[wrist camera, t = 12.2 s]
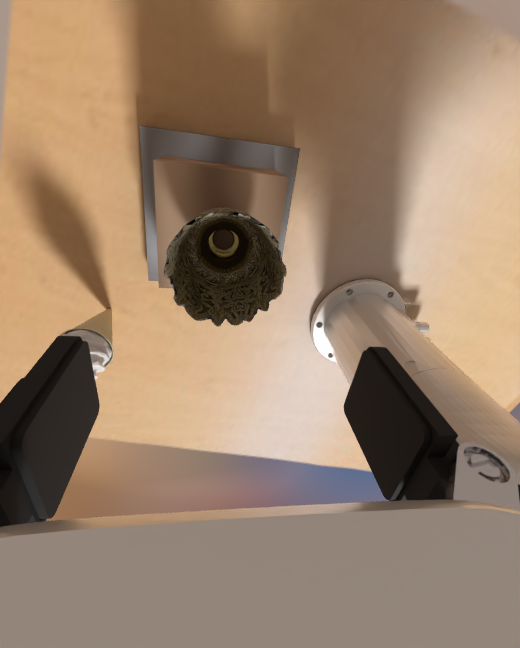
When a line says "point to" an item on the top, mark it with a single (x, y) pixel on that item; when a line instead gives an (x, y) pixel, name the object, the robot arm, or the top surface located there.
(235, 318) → the cup
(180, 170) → the brown block on base
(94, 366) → the ice cream cone
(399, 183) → the top surface
